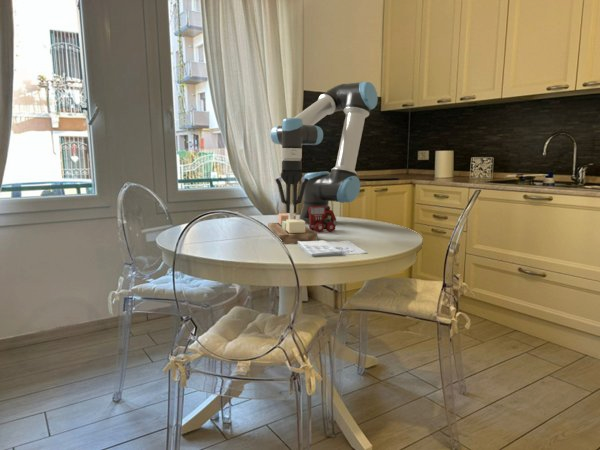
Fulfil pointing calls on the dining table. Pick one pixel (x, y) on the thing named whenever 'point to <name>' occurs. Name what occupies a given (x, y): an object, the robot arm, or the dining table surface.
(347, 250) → the printed paper napkins
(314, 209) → the toy fire truck
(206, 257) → the dining table surface
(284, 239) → the board
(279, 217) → the salmon orange square block
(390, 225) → the dining table surface
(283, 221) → the pale green square block
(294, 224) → the cream yellow square block
